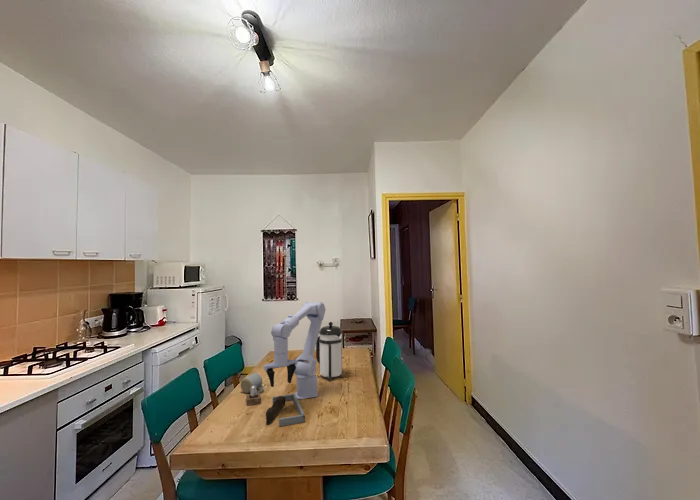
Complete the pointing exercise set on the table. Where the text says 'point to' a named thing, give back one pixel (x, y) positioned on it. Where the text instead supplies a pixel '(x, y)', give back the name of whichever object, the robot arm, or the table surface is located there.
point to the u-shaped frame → (292, 419)
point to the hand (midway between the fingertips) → (280, 384)
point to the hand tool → (274, 409)
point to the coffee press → (330, 351)
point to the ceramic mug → (252, 383)
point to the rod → (253, 391)
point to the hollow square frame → (253, 399)
